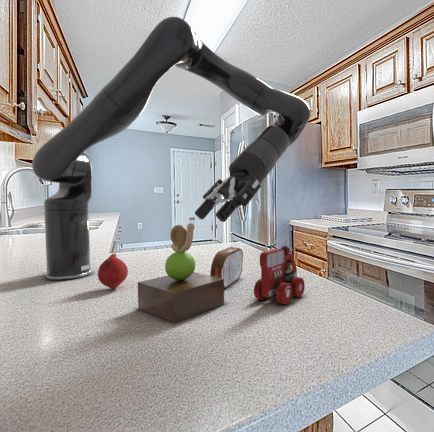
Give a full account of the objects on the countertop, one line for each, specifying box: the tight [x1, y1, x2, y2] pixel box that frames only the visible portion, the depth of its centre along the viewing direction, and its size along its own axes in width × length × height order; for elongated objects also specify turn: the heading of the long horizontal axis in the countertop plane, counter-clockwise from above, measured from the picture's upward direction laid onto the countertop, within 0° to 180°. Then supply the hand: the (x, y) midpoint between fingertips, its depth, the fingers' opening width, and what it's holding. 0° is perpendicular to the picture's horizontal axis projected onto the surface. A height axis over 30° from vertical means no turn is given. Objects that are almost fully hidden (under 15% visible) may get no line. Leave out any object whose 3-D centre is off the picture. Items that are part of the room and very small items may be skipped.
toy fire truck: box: [253, 245, 306, 305], centre depth 63 cm, size 7×12×10 cm, turn 149°
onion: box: [97, 252, 129, 290], centre depth 69 cm, size 6×6×8 cm
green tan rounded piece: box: [164, 216, 196, 280], centre depth 57 cm, size 5×6×12 cm
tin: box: [209, 246, 244, 289], centre depth 73 cm, size 15×3×8 cm, turn 169°
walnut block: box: [137, 271, 225, 324], centre depth 58 cm, size 11×11×5 cm
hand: (208, 217), depth 61 cm, fingers open, 8 cm apart
